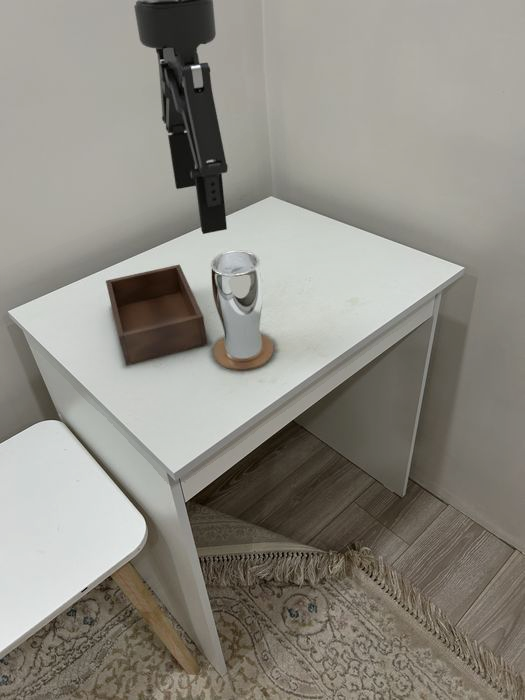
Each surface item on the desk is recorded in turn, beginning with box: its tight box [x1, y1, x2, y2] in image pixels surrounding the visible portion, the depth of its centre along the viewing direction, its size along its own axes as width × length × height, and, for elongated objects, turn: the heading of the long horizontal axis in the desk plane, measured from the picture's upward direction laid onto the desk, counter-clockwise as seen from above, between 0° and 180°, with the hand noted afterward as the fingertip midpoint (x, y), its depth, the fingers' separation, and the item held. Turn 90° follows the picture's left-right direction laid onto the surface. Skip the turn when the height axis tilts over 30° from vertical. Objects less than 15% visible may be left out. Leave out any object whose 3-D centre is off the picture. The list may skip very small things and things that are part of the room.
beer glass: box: [210, 249, 264, 362], centre depth 78 cm, size 7×7×15 cm
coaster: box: [213, 332, 274, 372], centre depth 82 cm, size 9×9×1 cm
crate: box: [105, 264, 209, 366], centre depth 87 cm, size 13×17×5 cm
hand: (199, 206), depth 65 cm, fingers open, 13 cm apart
